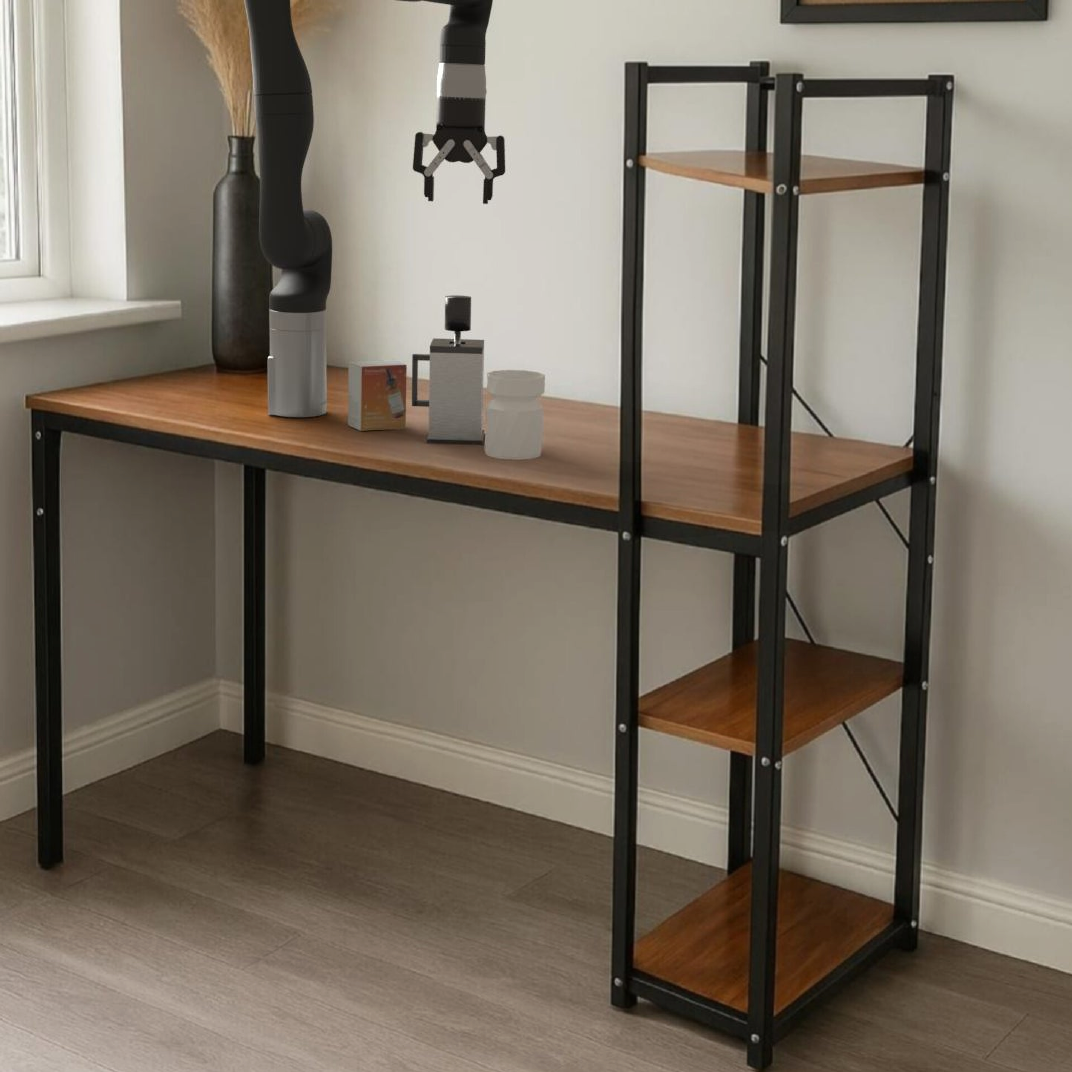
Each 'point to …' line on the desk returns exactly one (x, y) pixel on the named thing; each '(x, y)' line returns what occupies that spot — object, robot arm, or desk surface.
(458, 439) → the press carafe
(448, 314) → the plunger
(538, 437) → the white plastic jar
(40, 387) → the desk surface
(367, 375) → the small box
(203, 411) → the desk surface
